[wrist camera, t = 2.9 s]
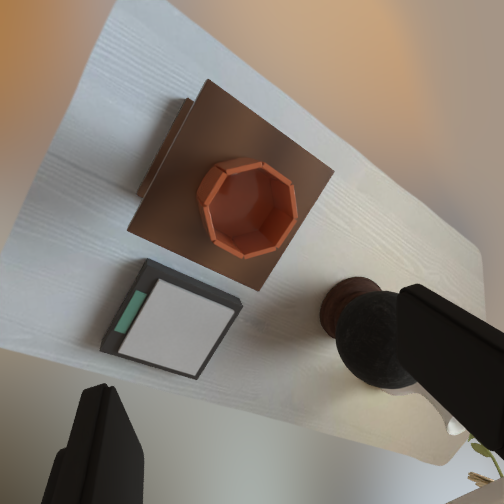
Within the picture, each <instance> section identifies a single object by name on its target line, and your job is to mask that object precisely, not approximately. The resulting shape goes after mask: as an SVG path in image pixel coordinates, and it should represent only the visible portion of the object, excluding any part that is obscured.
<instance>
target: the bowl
mask: <svg viewBox="0 0 504 504" xmlns="http://www.w3.org/2000/svg"><path fill="white" fill-rule="evenodd" d="M291 183H292V182H291V181H290V180H289V179H287V178H286V177H285V176H283V175H282V174H280V173H279V172H278V171H276V170H275V169H273V168H272V167H271V166H269V165H268V164H267V163H265V162H262V161H258V160H255V159H252V158H247V157H242V158H237V159H229V160H225V161H223V162H219V163H215V166H212V167H211V169H210V170H209V171H208V172H207V173H206V175H205V176H204V178H203V179H202V181H201V184H200V186H199V188H198V190H197V192H196V193H197V195H196V200H197V204H198V209H199V212H200V216H201V220H202V223H203V226H204V228H205V230H206V232H207V234H208V236H209V238H210V239H211V241H212V242H213V244H215V245H217V246H218V247H220V248H222V249H224V250H226V251H228V252H229V253H231V254H233V255H235V256H237V257H239V258H240V259H242V258H243V257H244V259H248V258H251V257H255V256H258V255H262V254H265V253H269V252H272V251H276V247H277V248H279V247H280V246H281V244H282V243H283V241H284V240H285V238H286V237H287V235H288V234H289V232H290V231H291V229H292V228H293V226H294V225H295V223H296V222H297V220H295V218H298V214H297V207H296V199H295V191H294V185H293V184H291Z"/></svg>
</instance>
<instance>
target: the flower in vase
mask: <svg viewBox="0 0 504 504" xmlns="http://www.w3.org/2000/svg"><path fill="white" fill-rule="evenodd" d="M380 389H381V390H383V391H384V392H386V393H388V394H390V395H408V394H413V393H419V394H421V395H422V396H424V397H425V398H426V399H427V400H428V401H429V402H430V403H431V404H432V405H433V406H434V407H435V408H436V410H437V411H438V412H439V414H440V415H441V416H442V418H443V420H444V423H445V426H446V431H447V433H448V434H450V435H457V434H460V433H462V432H463V431H465V430H466V429H465V428H464V427H463V426H462V425H461V424H460V423H459V422H458V421H457V420H456V419H455V418H454V417H453V416H452V415H451V414H450V413H449V412H448V411H447V410H446V409H445V408H444V407H443V406H442V405H441V404H440V403H439V402H438V401H437V400H435V399H434V398H433V397H432V396H431V395H430V394H429V393H428V392H427V391H426V390H425V389H424V388H423V387H422V386H421V385H420V384H419V383H418V382H417V383H415V384H413V385H410V386H408V387H404V388H401V389H383V388H380ZM473 438H475V437H474V436H473V435H472V434H471V433H470V435H469V439H468V442H469V441H470V440H471V439H473ZM477 441H478V440H477ZM478 442H479V441H478ZM479 443H480V442H479ZM480 444H481V443H480ZM480 444H477V443H471V446H472V448H473V449H474V450H475V451H476V452H478V453H480V454H482V455H483V456H485V457H491V458H492V460H493V462H494V464H495V466H496V468H497V470H498V472H499V474H500V477H501V478H502V477H504V476H503V474H502V472H501V470H500V468H499V466H498V464H497V462H496V460H495V458H494V457H493V455H492V454H491V452H490V451H489V450H488V449H487V448H485V447H484V446H483V445H482V444H481V445H480ZM469 475H470V476H468V479H470V480H472V481H474V482H477V483H476V485H477V486H479V487H482V486H485V485H487V484H489V483H491V482H493V481H494V480H492V479H490V478H487V477H484V476H481V475H479V474H476V473H473V472H470V473H469Z"/></svg>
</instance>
